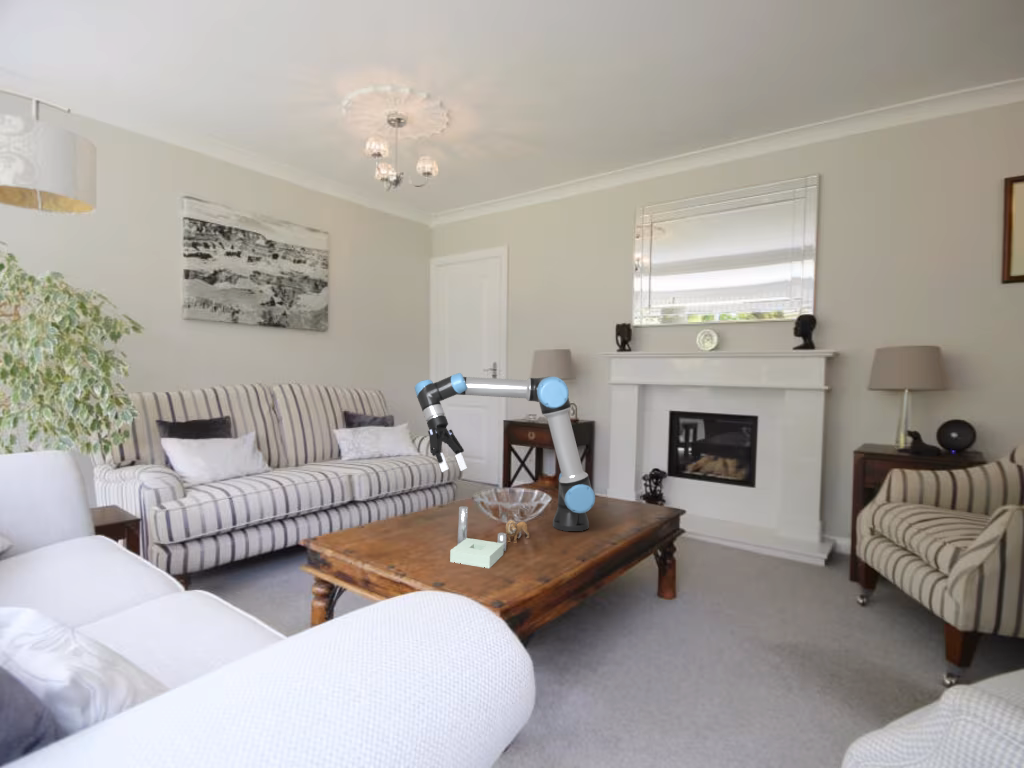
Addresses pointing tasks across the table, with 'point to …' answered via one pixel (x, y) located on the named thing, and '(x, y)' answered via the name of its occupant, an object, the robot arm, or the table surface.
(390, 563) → the table surface
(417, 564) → the table surface
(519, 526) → the lion figurine
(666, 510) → the table surface
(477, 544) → the socket block
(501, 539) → the short peg
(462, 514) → the tall peg
